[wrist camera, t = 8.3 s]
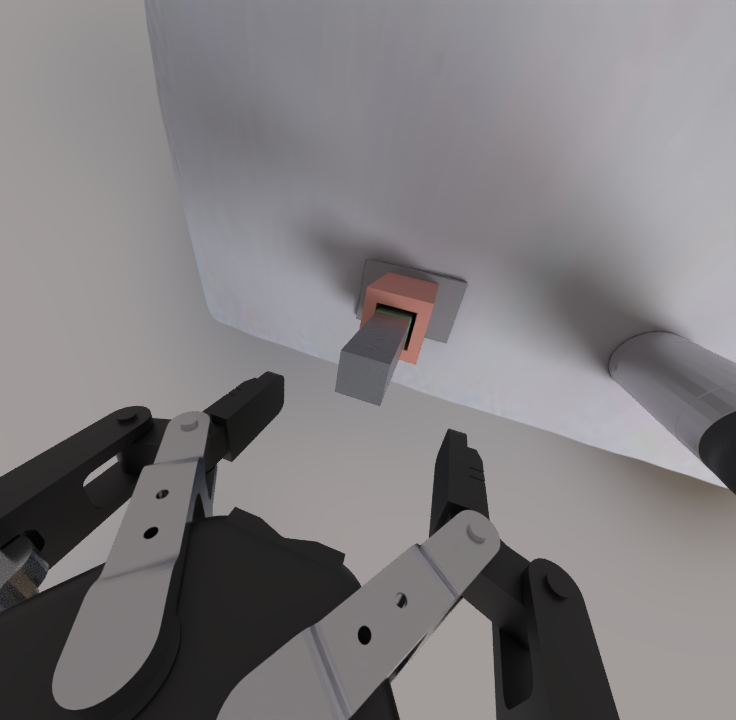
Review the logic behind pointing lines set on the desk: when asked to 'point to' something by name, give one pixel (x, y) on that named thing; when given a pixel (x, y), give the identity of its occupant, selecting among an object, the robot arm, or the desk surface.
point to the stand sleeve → (412, 301)
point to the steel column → (373, 354)
